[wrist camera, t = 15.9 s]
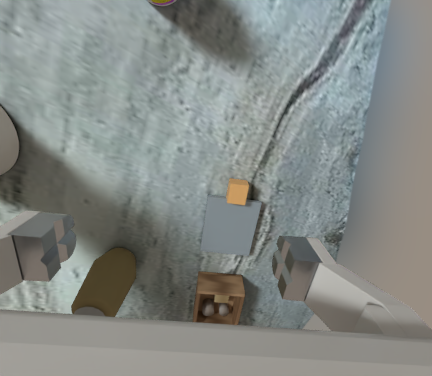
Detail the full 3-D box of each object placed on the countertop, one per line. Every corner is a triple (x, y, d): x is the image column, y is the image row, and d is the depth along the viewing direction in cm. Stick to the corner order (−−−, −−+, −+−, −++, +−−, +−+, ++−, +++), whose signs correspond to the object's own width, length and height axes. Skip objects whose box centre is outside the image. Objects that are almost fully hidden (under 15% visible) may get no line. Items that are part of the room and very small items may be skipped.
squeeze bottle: (115, 234, 43) (56, 324, 27) (150, 257, 45) (116, 353, 29) (91, 260, 45) (24, 358, 29) (126, 281, 48) (82, 382, 31)
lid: (200, 245, 45) (199, 256, 42) (210, 174, 39) (210, 181, 36) (247, 250, 46) (250, 261, 43) (264, 181, 40) (268, 188, 37)
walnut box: (193, 309, 51) (192, 331, 47) (198, 271, 47) (197, 290, 43) (233, 312, 52) (235, 333, 47) (241, 274, 48) (245, 294, 43)
